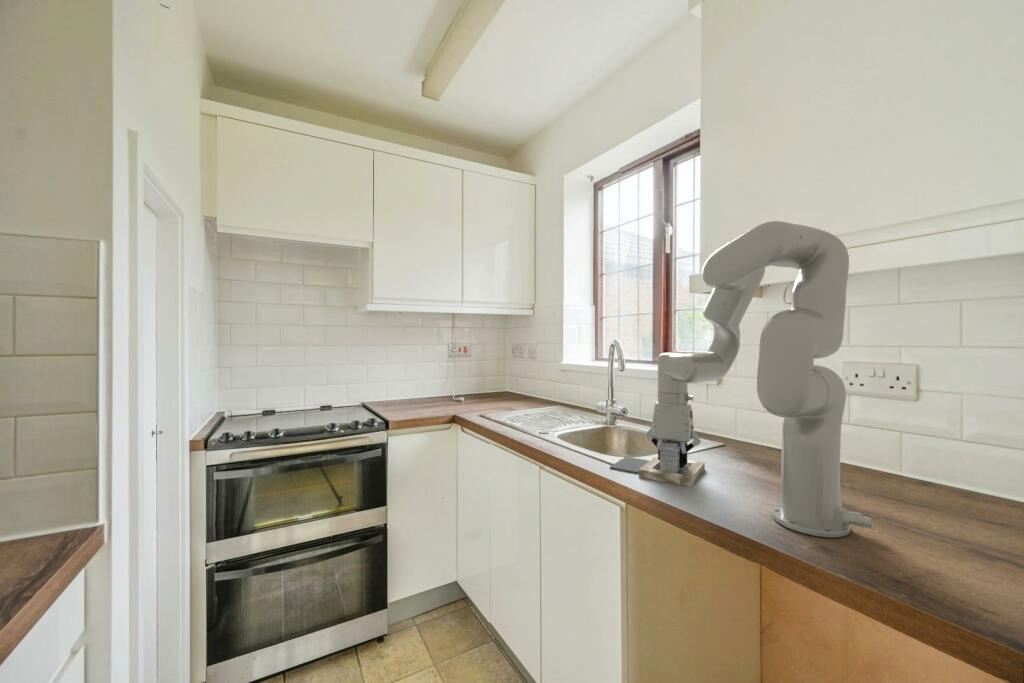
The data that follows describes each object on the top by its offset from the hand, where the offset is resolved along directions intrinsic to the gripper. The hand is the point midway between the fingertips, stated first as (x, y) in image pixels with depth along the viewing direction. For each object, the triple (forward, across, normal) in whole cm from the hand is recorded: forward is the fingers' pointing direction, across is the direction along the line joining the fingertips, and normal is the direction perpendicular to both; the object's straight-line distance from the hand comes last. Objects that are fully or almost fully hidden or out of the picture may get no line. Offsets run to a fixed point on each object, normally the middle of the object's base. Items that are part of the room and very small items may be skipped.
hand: (672, 464), depth 113 cm
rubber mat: (+2, +12, 0) cm, 12 cm away
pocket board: (+2, 0, 0) cm, 2 cm away
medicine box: (+3, 0, 0) cm, 3 cm away
